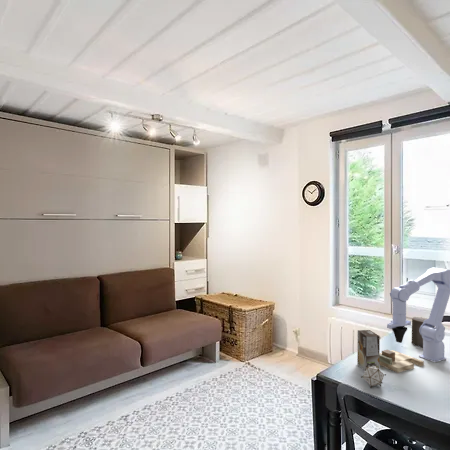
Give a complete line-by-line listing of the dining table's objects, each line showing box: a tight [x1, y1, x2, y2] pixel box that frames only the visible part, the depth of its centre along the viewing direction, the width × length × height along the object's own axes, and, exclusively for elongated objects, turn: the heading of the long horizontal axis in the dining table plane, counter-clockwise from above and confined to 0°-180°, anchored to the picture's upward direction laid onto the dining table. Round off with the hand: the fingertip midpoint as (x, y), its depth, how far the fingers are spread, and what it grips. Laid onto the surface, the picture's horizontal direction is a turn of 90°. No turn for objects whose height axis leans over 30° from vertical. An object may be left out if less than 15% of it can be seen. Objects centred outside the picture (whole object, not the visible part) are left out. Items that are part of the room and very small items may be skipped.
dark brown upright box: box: [411, 316, 428, 348], centre depth 190 cm, size 10×10×15 cm
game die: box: [360, 364, 387, 389], centre depth 140 cm, size 9×8×10 cm
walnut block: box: [381, 349, 395, 362], centre depth 162 cm, size 4×4×4 cm
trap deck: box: [379, 349, 425, 373], centre depth 164 cm, size 18×16×4 cm
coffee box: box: [356, 329, 381, 372], centre depth 158 cm, size 9×6×16 cm
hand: (399, 342), depth 166 cm, fingers closed
